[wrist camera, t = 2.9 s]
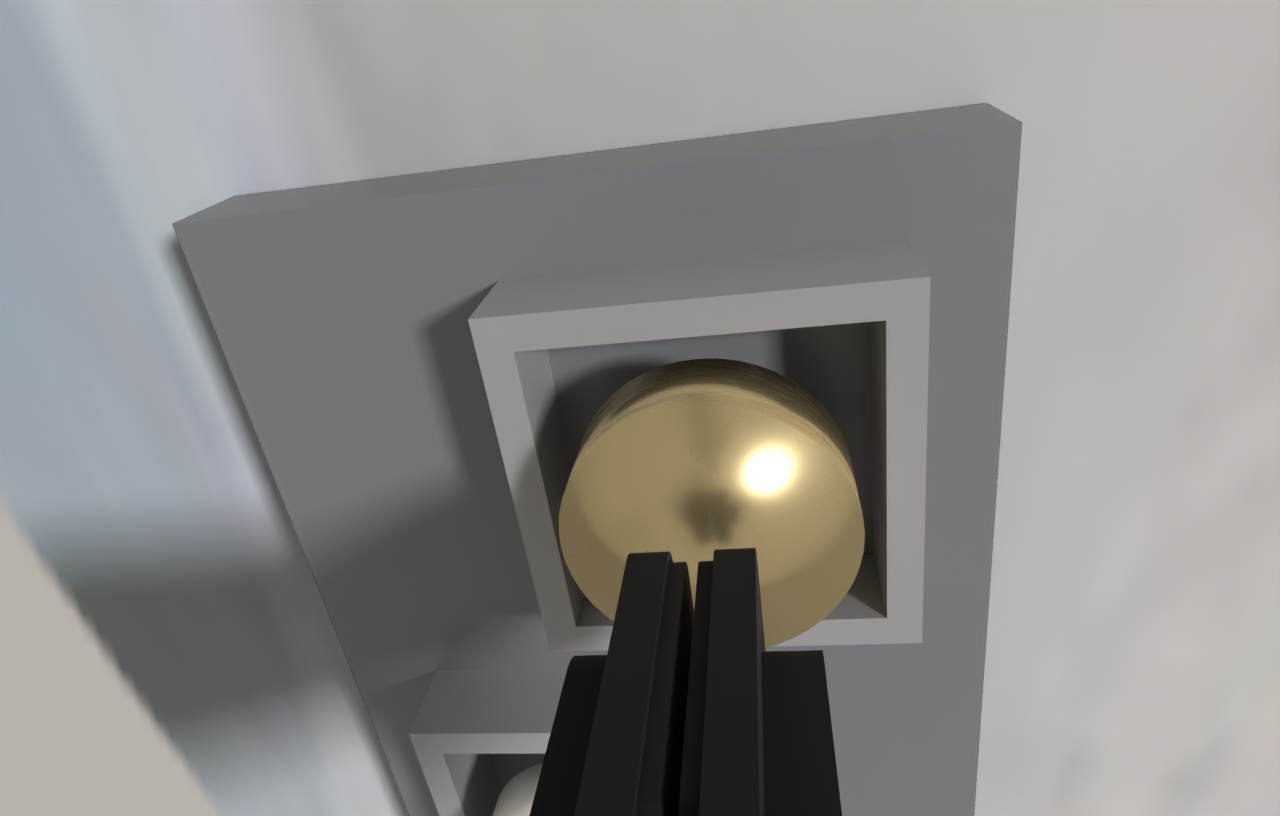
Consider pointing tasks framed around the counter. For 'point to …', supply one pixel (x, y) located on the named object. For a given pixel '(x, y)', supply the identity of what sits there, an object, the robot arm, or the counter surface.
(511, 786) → the white button
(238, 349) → the control panel
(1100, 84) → the counter surface
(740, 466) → the brass button
